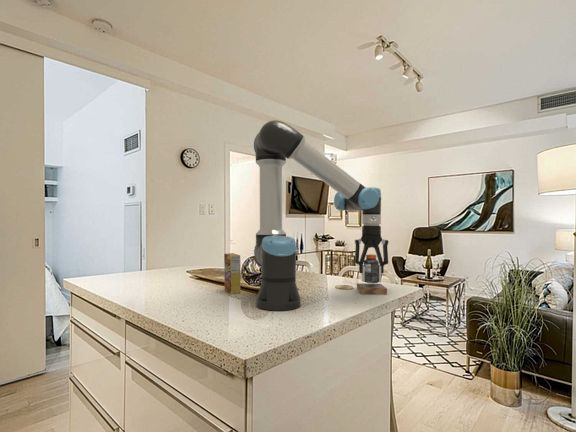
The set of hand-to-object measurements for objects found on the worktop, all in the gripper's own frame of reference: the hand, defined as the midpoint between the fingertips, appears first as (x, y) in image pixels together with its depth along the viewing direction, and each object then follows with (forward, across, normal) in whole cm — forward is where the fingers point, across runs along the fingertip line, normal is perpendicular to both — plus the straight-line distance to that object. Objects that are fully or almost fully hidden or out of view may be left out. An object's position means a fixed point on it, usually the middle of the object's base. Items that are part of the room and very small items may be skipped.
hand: (371, 281), depth 136 cm
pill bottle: (+1, 0, 0) cm, 1 cm away
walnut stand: (+4, 0, 0) cm, 4 cm away
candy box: (+5, -57, -3) cm, 57 cm away
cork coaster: (+4, -10, +8) cm, 13 cm away
